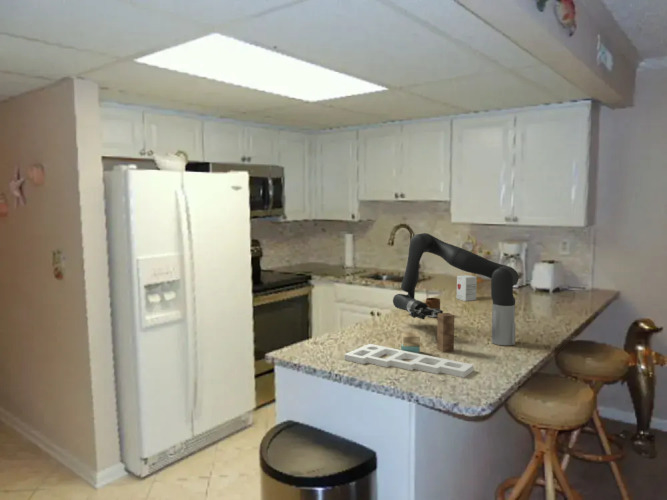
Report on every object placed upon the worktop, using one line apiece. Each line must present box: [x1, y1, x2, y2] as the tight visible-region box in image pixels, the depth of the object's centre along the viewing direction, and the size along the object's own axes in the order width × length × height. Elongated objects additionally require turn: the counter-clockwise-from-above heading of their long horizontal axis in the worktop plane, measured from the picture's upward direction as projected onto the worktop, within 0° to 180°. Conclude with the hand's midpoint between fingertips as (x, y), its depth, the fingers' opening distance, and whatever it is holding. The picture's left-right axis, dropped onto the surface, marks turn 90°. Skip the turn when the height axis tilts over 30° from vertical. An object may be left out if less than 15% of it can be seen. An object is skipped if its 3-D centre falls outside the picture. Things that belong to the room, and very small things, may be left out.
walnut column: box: [436, 312, 456, 353], centre depth 202 cm, size 5×5×15 cm
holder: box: [344, 343, 474, 378], centre depth 184 cm, size 45×18×3 cm, turn 53°
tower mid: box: [401, 331, 421, 347], centre depth 198 cm, size 6×6×4 cm
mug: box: [424, 297, 441, 318], centre depth 262 cm, size 12×8×9 cm, turn 138°
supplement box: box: [456, 274, 478, 302], centre depth 310 cm, size 9×9×15 cm
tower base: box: [400, 343, 421, 354], centre depth 198 cm, size 7×7×4 cm
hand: (433, 316), depth 213 cm, fingers open, 8 cm apart
